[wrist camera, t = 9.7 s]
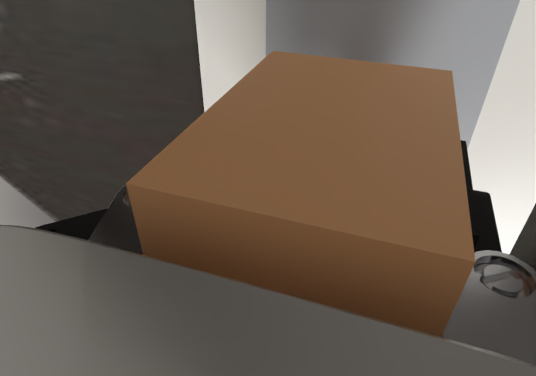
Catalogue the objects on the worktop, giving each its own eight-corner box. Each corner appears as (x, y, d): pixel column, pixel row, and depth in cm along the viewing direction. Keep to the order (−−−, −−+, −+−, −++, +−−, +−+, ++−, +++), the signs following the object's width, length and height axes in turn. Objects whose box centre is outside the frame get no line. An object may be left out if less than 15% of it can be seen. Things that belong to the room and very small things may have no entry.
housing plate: (194, -247, 12) (88, -313, 9) (762, -302, 9) (1009, -456, 5) (227, 230, 24) (189, 291, 20) (475, 291, 20) (484, 378, 17)
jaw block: (272, 50, 11) (125, 183, 6) (452, 70, 10) (474, 262, 5) (269, 213, 15) (176, 390, 9) (402, 243, 14) (383, 466, 8)
